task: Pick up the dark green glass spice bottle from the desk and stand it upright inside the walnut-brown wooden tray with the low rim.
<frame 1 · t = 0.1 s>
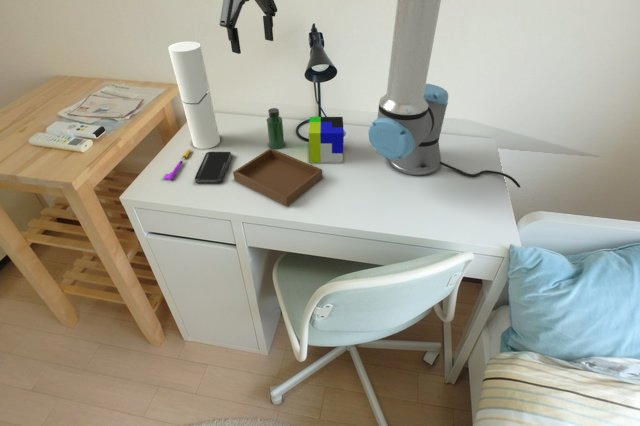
hand: (253, 46, 110), 28 cm above the table, tool pointing down, fingers open, 13 cm apart
puzzle toy: (326, 154, 118), on the table
container: (206, 142, 124), on the table
spice bottle: (276, 144, 122), on the table
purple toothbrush: (178, 165, 114), on the table
phone: (214, 168, 112), on the table
tray: (278, 179, 108), on the table
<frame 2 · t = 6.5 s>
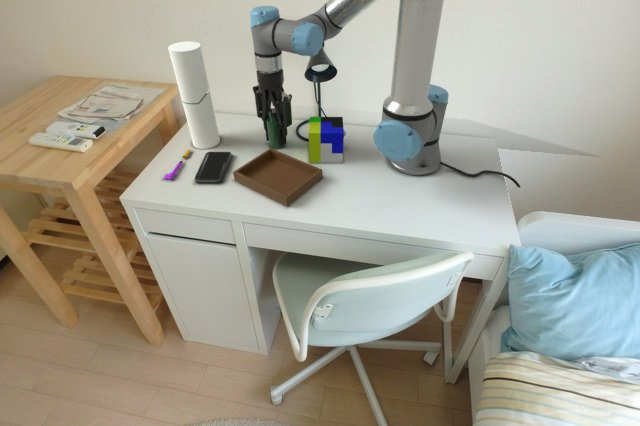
hand: (276, 141, 121), 1 cm above the table, tool pointing down, fingers closed on spice bottle, 5 cm apart
spice bottle: (276, 144, 122), on the table, touching gripper
everything else where it was.
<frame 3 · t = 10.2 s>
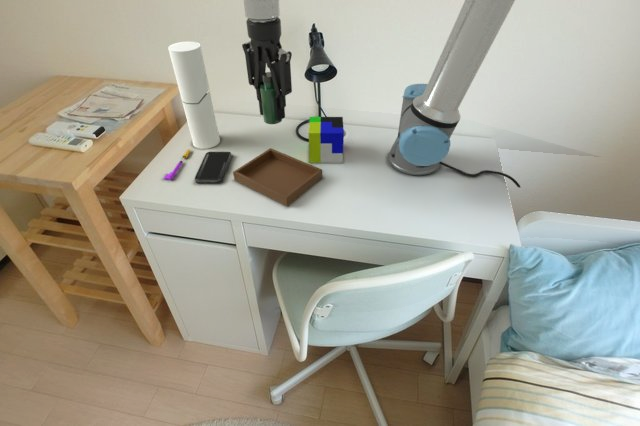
hand: (272, 115, 98), 18 cm above the table, tool pointing down, fingers closed on spice bottle, 5 cm apart
spice bottle: (273, 120, 99), point 17 cm above the table, touching gripper
everything else where it was.
when the fingers open (2 cm above the table, at t = 14.2 s): spice bottle stays where it is, resting on tray.
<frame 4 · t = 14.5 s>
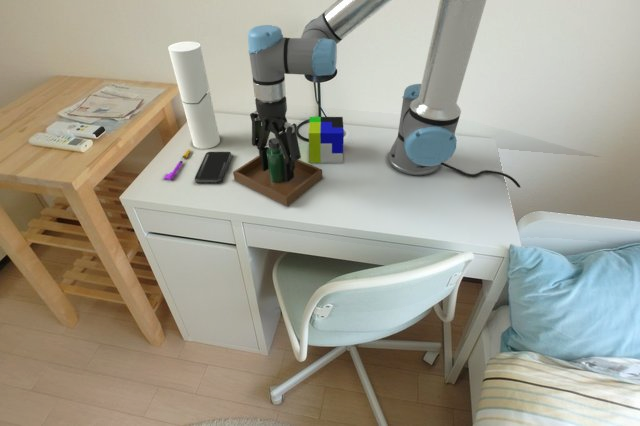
hand: (278, 173, 106), 2 cm above the table, tool pointing down, fingers open, 8 cm apart
spice bottle: (278, 178, 107), point 1 cm above the table, touching tray
everything else where it was.
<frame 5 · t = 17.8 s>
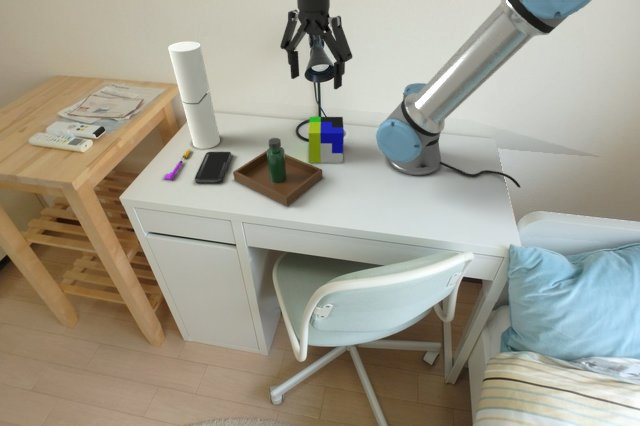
hand: (315, 82, 100), 24 cm above the table, tool pointing down, fingers open, 13 cm apart
nothing on the table moved.
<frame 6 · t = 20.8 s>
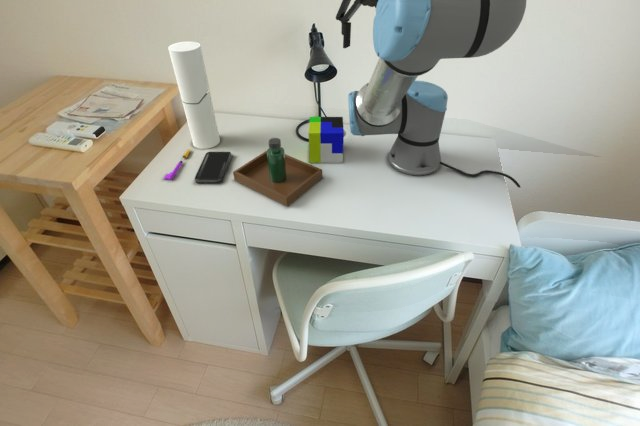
hand: (366, 51, 109), 27 cm above the table, tool pointing down, fingers open, 13 cm apart
nothing on the table moved.
at the end: spice bottle inside the target area in the tray (0.1 cm from its centre), point 0.6 cm above the tray's base; spice bottle tilted 0°; the gripper is holding nothing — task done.
